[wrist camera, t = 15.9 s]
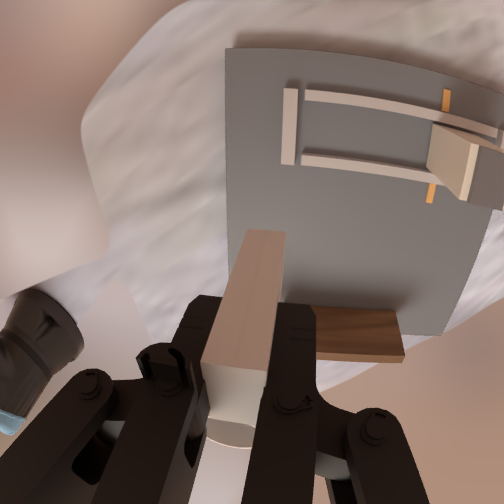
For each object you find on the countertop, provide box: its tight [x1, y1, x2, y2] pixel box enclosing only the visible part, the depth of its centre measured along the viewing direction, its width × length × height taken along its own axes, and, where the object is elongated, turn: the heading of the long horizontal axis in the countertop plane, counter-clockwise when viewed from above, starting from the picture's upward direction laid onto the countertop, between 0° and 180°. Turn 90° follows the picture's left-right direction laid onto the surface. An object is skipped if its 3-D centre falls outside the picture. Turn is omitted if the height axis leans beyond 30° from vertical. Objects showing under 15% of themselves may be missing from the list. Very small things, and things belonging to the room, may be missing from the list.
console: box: [225, 48, 504, 336], centre depth 22 cm, size 24×26×10 cm
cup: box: [206, 411, 256, 449], centre depth 34 cm, size 8×8×12 cm
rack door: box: [310, 305, 405, 363], centre depth 28 cm, size 2×12×6 cm, turn 91°
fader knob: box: [426, 124, 504, 211], centre depth 17 cm, size 4×4×7 cm
